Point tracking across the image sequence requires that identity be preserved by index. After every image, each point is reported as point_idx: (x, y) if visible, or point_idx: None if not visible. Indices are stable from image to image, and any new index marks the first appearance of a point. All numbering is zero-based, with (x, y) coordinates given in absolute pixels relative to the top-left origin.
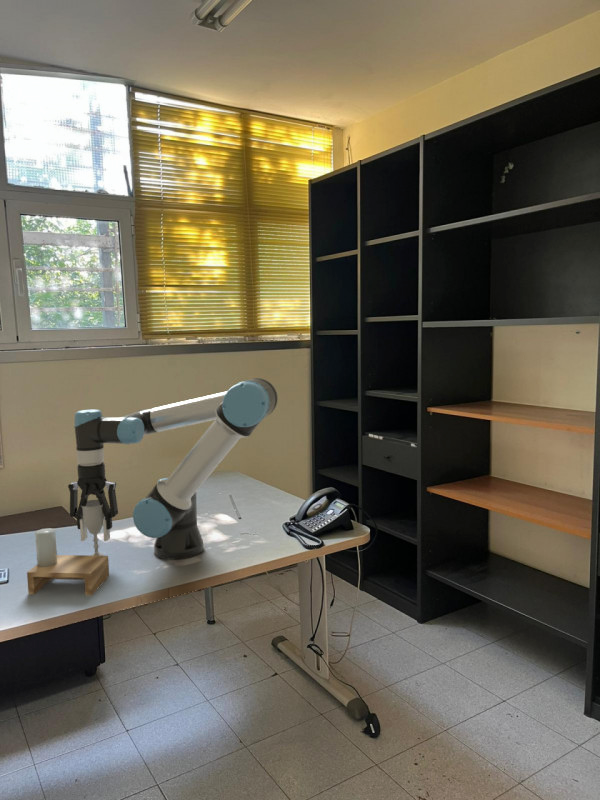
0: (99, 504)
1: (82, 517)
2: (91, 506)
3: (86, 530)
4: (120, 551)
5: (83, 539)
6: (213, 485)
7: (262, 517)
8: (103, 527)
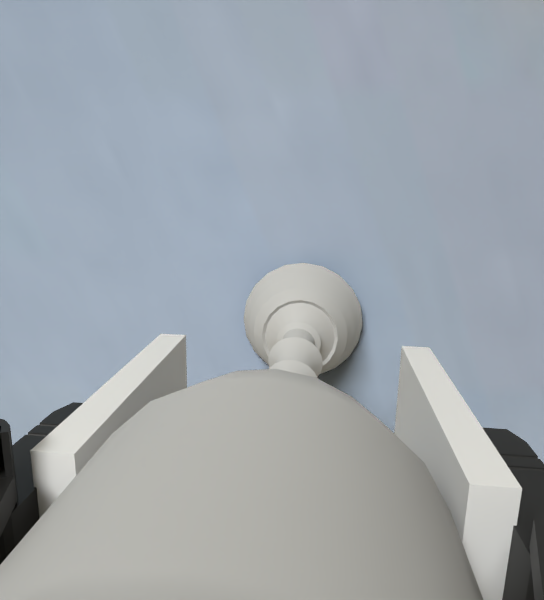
0: (307, 596)
1: (35, 504)
2: (61, 544)
3: (159, 379)
4: (398, 81)
5: None
6: None
7: None
8: None
